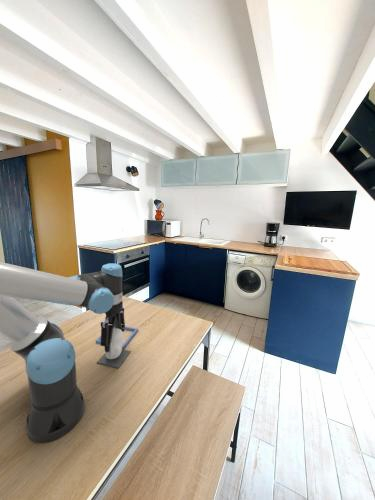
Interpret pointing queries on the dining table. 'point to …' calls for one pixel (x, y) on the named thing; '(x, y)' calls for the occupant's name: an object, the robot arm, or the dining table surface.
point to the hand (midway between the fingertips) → (114, 350)
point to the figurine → (116, 342)
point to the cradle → (127, 339)
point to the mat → (114, 362)
